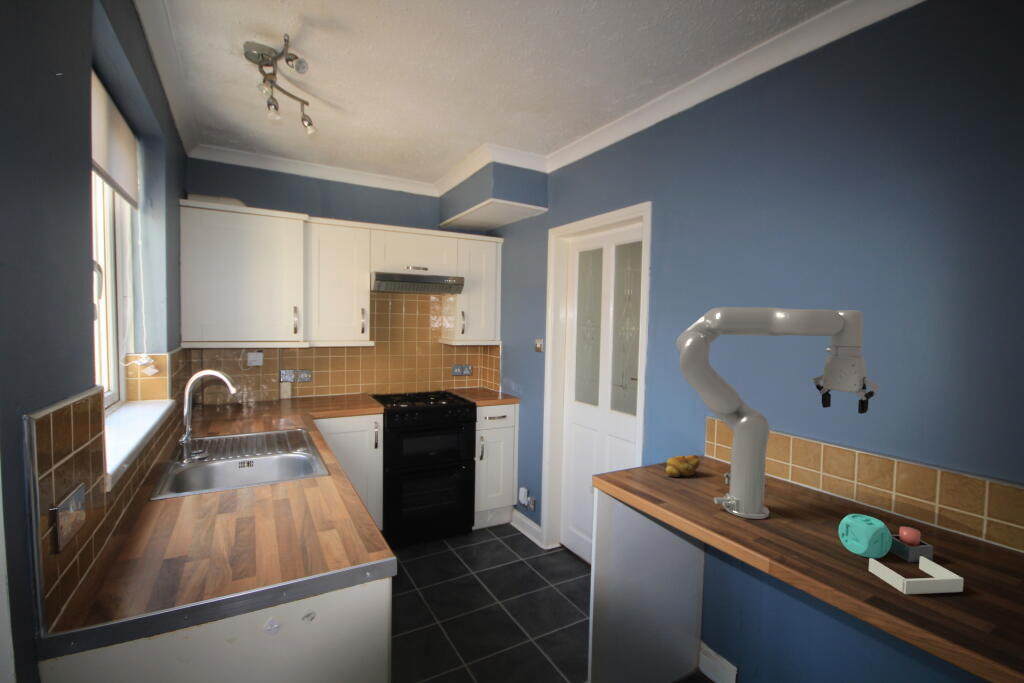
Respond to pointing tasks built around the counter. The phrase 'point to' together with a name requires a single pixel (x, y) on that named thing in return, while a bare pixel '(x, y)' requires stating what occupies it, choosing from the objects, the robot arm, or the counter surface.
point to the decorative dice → (865, 535)
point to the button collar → (911, 550)
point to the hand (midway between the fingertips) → (843, 410)
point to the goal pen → (939, 584)
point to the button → (909, 536)
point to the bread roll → (682, 465)
